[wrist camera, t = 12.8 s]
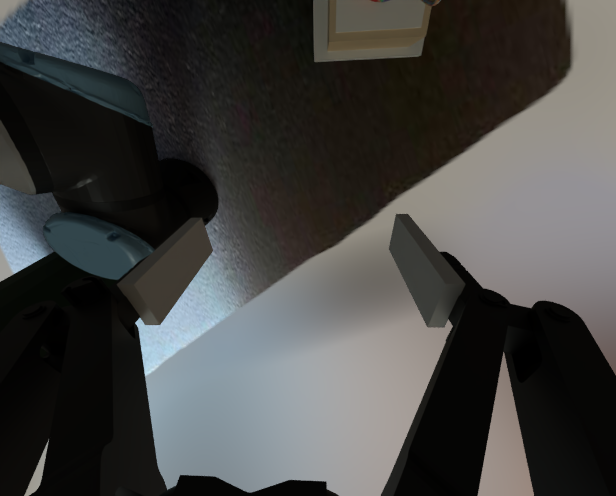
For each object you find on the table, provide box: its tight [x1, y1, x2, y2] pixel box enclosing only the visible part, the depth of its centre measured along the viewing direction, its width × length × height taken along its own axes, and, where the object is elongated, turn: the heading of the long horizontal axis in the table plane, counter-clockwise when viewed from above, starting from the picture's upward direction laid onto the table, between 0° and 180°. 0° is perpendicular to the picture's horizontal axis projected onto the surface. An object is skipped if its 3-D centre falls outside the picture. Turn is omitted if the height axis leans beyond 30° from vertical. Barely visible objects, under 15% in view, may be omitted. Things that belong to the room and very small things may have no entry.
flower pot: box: [0, 252, 117, 358], centre depth 50 cm, size 25×25×28 cm
